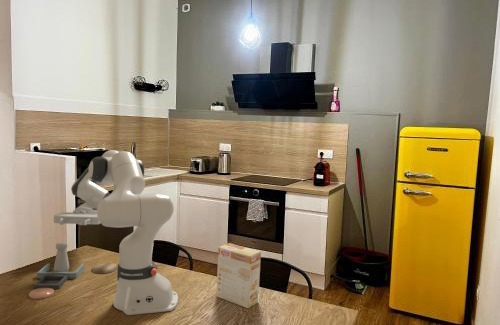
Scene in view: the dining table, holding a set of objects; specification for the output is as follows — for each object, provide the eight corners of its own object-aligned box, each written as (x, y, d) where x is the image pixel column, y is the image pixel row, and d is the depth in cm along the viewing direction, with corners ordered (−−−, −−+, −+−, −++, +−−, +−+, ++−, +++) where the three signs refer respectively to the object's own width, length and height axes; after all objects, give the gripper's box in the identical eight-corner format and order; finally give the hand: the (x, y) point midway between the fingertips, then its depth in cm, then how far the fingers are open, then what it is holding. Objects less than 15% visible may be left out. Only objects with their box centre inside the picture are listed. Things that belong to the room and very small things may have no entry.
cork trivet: (119, 264, 165) (119, 262, 165) (114, 273, 155) (114, 271, 155) (95, 265, 164) (95, 263, 163) (89, 274, 154) (89, 272, 154)
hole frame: (44, 278, 147) (44, 275, 146) (68, 278, 148) (68, 275, 148) (33, 288, 138) (33, 284, 138) (59, 288, 139) (59, 285, 139)
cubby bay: (47, 268, 157) (47, 263, 156) (84, 268, 158) (84, 263, 158) (36, 278, 147) (36, 272, 147) (76, 278, 149) (76, 273, 148)
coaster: (57, 289, 139) (57, 287, 139) (48, 299, 131) (48, 297, 131) (35, 289, 138) (35, 287, 138) (24, 299, 130) (24, 297, 130)
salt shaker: (64, 276, 150) (64, 245, 148) (50, 275, 150) (50, 244, 148) (71, 270, 155) (72, 241, 154) (58, 270, 156) (58, 240, 154)
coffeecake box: (258, 302, 137) (261, 251, 135) (247, 309, 131) (250, 256, 129) (226, 290, 146) (229, 242, 144) (215, 296, 140) (217, 246, 138)
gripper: (60, 208, 175) (47, 215, 161) (104, 209, 177) (96, 216, 164) (59, 220, 176) (47, 229, 162) (104, 222, 178) (96, 230, 164)
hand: (72, 223), depth 163 cm, fingers open, 8 cm apart
